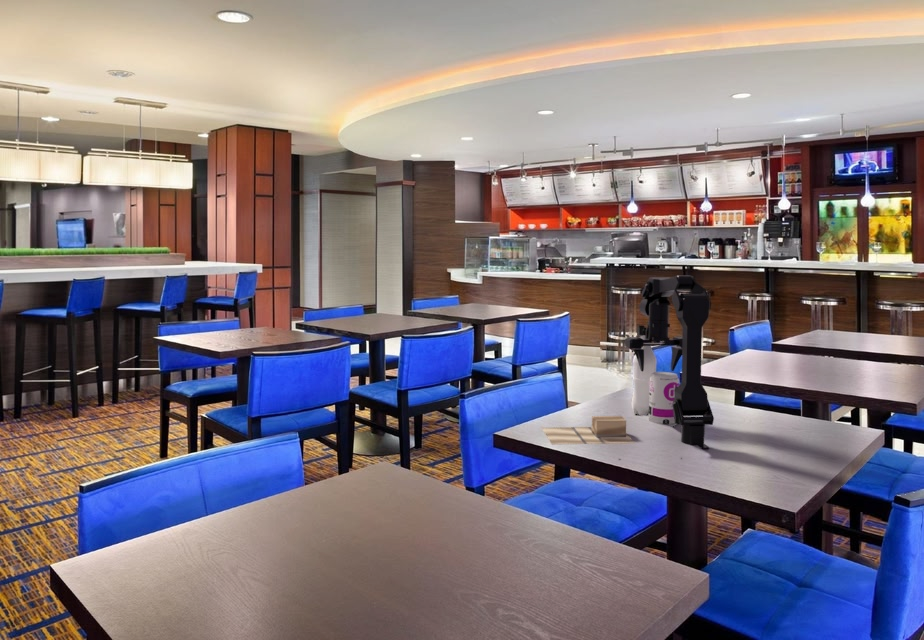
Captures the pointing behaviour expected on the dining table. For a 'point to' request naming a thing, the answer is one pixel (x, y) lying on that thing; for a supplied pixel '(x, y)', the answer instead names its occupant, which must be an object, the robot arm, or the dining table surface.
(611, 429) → the block
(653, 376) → the supplement can
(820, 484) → the dining table surface
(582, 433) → the board
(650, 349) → the water bottle
